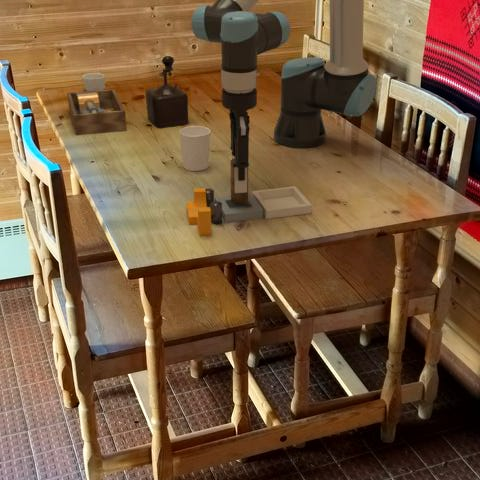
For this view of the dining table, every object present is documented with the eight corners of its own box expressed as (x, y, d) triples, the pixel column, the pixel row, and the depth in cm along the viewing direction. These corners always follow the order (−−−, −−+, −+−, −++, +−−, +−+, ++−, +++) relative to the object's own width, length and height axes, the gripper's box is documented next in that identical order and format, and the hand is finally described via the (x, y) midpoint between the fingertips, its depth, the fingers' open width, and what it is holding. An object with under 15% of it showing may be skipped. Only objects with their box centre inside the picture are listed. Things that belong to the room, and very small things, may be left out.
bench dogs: (212, 207, 172) (212, 187, 169) (223, 225, 164) (223, 205, 161) (201, 208, 171) (201, 189, 169) (212, 226, 163) (211, 206, 161)
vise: (71, 112, 232) (68, 92, 229) (103, 109, 235) (101, 89, 232) (79, 131, 217) (77, 109, 214) (114, 127, 220) (112, 106, 217)
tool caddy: (115, 107, 237) (114, 89, 234) (126, 130, 217) (125, 111, 215) (69, 111, 233) (67, 92, 230) (75, 135, 214) (73, 115, 211)
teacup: (107, 93, 250) (106, 78, 247) (85, 95, 248) (83, 79, 245) (103, 85, 258) (102, 70, 255) (81, 87, 256) (80, 72, 253)
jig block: (251, 203, 174) (251, 193, 173) (262, 219, 166) (263, 209, 165) (214, 207, 172) (214, 197, 170) (225, 224, 164) (225, 214, 163)
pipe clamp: (186, 214, 169) (186, 188, 166) (205, 213, 170) (204, 187, 166) (191, 238, 159) (190, 212, 155) (211, 237, 159) (210, 210, 156)
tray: (294, 195, 178) (295, 186, 176) (311, 215, 168) (311, 205, 167) (251, 201, 175) (252, 191, 174) (266, 221, 166) (266, 210, 164)
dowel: (246, 196, 170) (247, 157, 165) (249, 204, 166) (249, 164, 161) (229, 197, 169) (229, 158, 164) (232, 205, 166) (231, 165, 161)
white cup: (184, 173, 189) (183, 137, 184) (178, 162, 196) (177, 127, 191) (213, 170, 191) (213, 134, 186) (206, 159, 198) (206, 124, 193)
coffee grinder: (191, 124, 223) (189, 65, 214) (157, 128, 219) (154, 69, 210) (174, 109, 235) (172, 53, 227) (141, 113, 231) (138, 57, 223)
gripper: (263, 99, 148) (261, 203, 159) (250, 75, 163) (250, 171, 174) (226, 101, 147) (227, 205, 158) (217, 77, 162) (219, 173, 173)
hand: (239, 187), depth 166 cm, fingers closed on dowel, 4 cm apart
